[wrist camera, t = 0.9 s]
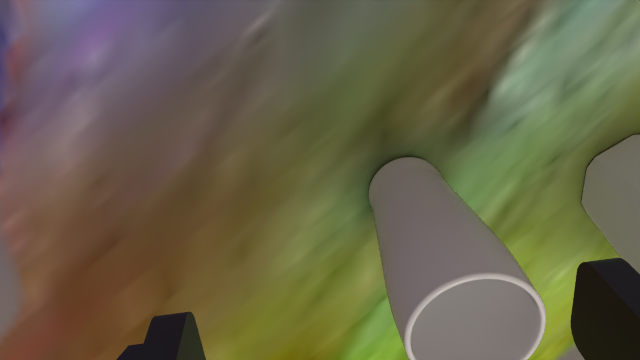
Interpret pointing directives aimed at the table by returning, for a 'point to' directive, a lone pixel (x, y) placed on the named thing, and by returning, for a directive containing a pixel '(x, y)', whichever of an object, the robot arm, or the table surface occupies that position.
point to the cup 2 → (616, 197)
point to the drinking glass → (449, 272)
